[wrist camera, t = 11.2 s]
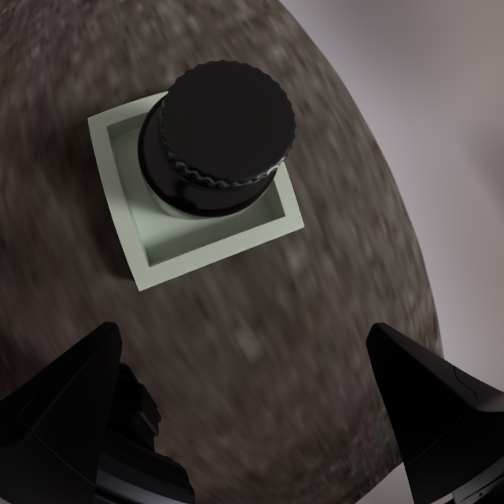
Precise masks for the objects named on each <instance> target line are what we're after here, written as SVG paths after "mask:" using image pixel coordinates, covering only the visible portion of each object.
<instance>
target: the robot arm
mask: <svg viewBox="0 0 504 504" xmlns="http://www.w3.org/2000/svg"><path fill="white" fill-rule="evenodd" d="M366 347H367V350H368V354H369V357H370V361H371V365H372V369H373V373H374V376H375V379H376V382H377V385H378V388H379V390H380V393H381V396H382V399H383V402H384V404H385V407H386V410H387V413H388V416H389V419H390V422H391V425H392V428H393V431H394V434H395V437H396V440H397V443H398V446H399V450H400V453H401V456H402V460H403V463H404V466H405V470H406V474H407V477H408V481H409V485H410V489H411V492H412V497H413V500H414V504H431V503H433V502H435V501H437V500H439V499H441V498H442V497H444V496H446V495H448V494H449V493H451V494H452V496H453V498H452V499H451V500H449V501H448V502H446V503H445V504H504V392H502V391H500V390H497V389H495V388H493V387H492V386H489V385H488V384H486V383H484V382H482V381H480V380H478V379H476V378H474V377H472V376H470V375H469V374H467V373H466V372H464V371H462V370H460V369H459V368H457V367H455V366H453V365H452V364H451V363H449V362H448V361H446V360H444V359H443V358H441V357H439V356H438V355H436V354H435V353H433V352H431V351H430V350H428V349H426V348H425V347H423V346H422V345H420V344H418V343H417V342H415V341H413V340H412V339H410V338H408V337H407V336H405V335H404V334H402V333H400V332H399V331H397V330H395V329H394V328H392V327H390V326H389V325H387V324H386V323H383V322H381V323H374V324H373V325H372V327H371V330H370V332H369V334H368V337H367V339H366ZM121 350H122V339H121V335H120V332H119V328H118V325H117V323H115V322H104V323H103V324H101V325H100V326H99V327H97V328H96V329H95V330H93V331H92V332H91V333H89V334H88V335H87V336H85V337H84V338H83V339H81V340H80V341H79V342H78V343H76V344H75V345H74V346H72V347H71V348H70V349H68V350H67V351H66V352H65V353H63V354H62V355H61V356H59V357H58V358H57V359H56V360H54V361H53V362H52V363H51V364H49V365H48V366H47V367H45V368H44V369H43V370H42V371H40V372H39V373H38V375H35V376H34V377H33V378H32V379H30V380H29V381H28V382H27V383H25V384H24V385H23V386H21V387H20V388H19V389H17V390H16V391H14V392H13V393H11V394H10V395H9V396H7V397H6V398H4V399H3V400H1V401H0V504H195V493H194V490H193V488H192V486H191V485H190V483H189V478H188V476H187V473H186V471H185V469H184V468H183V467H182V466H181V465H180V464H179V463H177V462H174V460H173V459H172V458H170V457H167V456H162V455H160V454H158V453H156V452H155V449H154V437H155V436H158V433H159V430H158V423H159V422H160V421H161V416H160V414H159V413H158V411H157V405H156V403H155V402H154V400H153V399H152V397H151V396H150V394H149V393H148V391H147V389H146V388H145V386H144V385H143V384H141V383H140V384H139V382H138V380H137V379H136V377H135V375H134V374H133V372H132V370H131V369H130V367H129V366H127V365H120V366H119V362H120V356H121ZM123 369H125V370H127V372H123V371H122V370H123Z"/></svg>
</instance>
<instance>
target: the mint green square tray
mask: <svg viewBox="0 0 504 504" xmlns="http://www.w3.org/2000/svg"><path fill="white" fill-rule="evenodd" d="M167 93H168V91H167V92H163V93H159V94H156V95H152V96H149V97H145V98H142V99H139V100H136V101H133V102H130V103H127V104H124V105H121V106H118V107H115V108H112V109H110V110H107V111H104V112H102V113H99V114H97V115H94V116H92V117H89V118H87V119H88V124H89V129H90V134H91V139H92V144H93V149H94V153H95V157H96V162H97V166H98V170H99V174H100V177H101V181H102V185H103V188H104V192H105V196H106V199H107V202H108V206H109V209H110V212H111V215H112V219H113V222H114V225H115V228H116V231H117V234H118V237H119V239H120V242H121V245H122V248H123V251H124V253H125V256H126V259H127V261H128V264H129V267H130V269H131V272H132V274H133V277H134V279H135V282H136V284H137V287H138V289H139V291H142V290H144V289H147V288H149V287H152V286H154V285H157V284H159V283H162V282H165V281H167V280H170V279H172V278H175V277H177V276H180V275H182V274H185V273H187V272H190V271H193V270H195V269H198V268H200V267H203V266H205V265H208V264H210V263H213V262H216V261H218V260H221V259H223V258H226V257H228V256H231V255H234V254H236V253H239V252H241V251H244V250H246V249H249V248H252V247H254V246H257V245H259V244H262V243H264V242H267V241H270V240H272V239H275V238H277V237H280V236H283V235H285V234H288V233H290V232H293V231H296V230H298V229H301V228H303V227H304V224H303V220H302V217H301V214H300V210H299V207H298V204H297V201H296V197H295V194H294V191H293V188H292V185H291V182H290V179H289V176H288V173H287V170H286V167H285V164H284V161H283V162H281V163H280V166H279V168H278V170H277V173H276V175H275V177H274V180H273V182H272V183H271V185H270V187H269V188H268V189H267V191H266V192H265V193H264V194H263V195H262V196H261V197H260V198H259V199H258V200H257V201H256V202H255V203H253V204H252V205H251V206H249V207H248V208H246V209H244V210H242V211H240V212H238V213H235V214H232V215H229V216H225V217H221V218H214V219H202V220H184V219H179V218H176V217H173V216H171V215H169V214H167V213H166V212H164V211H163V210H161V209H160V208H159V207H158V206H157V205H156V204H155V202H154V201H153V200H152V198H151V196H150V194H149V192H148V190H147V188H146V185H145V182H144V180H143V177H142V174H141V171H140V168H139V163H138V156H137V142H138V136H139V132H140V128H141V126H142V123H143V121H144V119H145V117H146V115H147V114H148V112H149V111H150V109H151V108H152V107H153V106H154V105H155V103H156V102H157V101H158V100H160V99H161V98H162V97H163V96H164V95H166V94H167Z"/></svg>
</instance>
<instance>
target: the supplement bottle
mask: <svg viewBox="0 0 504 504" xmlns="http://www.w3.org/2000/svg"><path fill="white" fill-rule="evenodd" d="M294 118H295V113H294V111H293V110H292V104H291V102H290V101H289V100H288V98H287V94H286V92H285V91H284V90H282V89H281V87H280V85H279V83H277V82H276V81H274V80H273V79H272V78H271V76H270V75H268V74H265V73H263V72H262V71H261V70H260V69H259V68H254V67H252V66H250V65H249V64H245V63H239V62H237V61H226V60H220V61H217V62H216V61H210V62H208V63H206V64H199V65H197V66H196V67H195V68H194V69H190V70H187V71H186V72H185V74H184V75H183V76H180V77H178V78H177V79H176V82H175V84H173V85H172V86H171V87H170V88H169V89H168V93H167V94H166V95H164V96H163V97H162V98H161V99H160V100H158V101H157V102H156V103H155V105H154V106H153V107H152V108H151V109H150V111H149V112H148V114H147V115H146V117H145V119H144V121H143V123H142V126H141V128H140V132H139V136H138V142H137V156H138V163H139V168H140V171H141V174H142V177H143V180H144V182H145V185H146V188H147V190H148V192H149V194H150V196H151V198H152V200H153V201H154V202H155V204H156V205H157V206H158V207H159V208H160V209H161V210H163V211H164V212H166V213H167V214H169V215H171V216H173V217H176V218H179V219H184V220H202V219H214V218H221V217H225V216H229V215H232V214H235V213H238V212H240V211H242V210H244V209H246V208H248V207H249V206H251V205H252V204H253V203H255V202H256V201H257V200H258V199H259V198H260V197H261V196H262V195H263V194H264V193H265V192H266V191H267V189H268V188H269V187H270V185H271V183H272V182H273V180H274V177H275V175H276V173H277V170H278V168H279V166H280V163H281V162H283V161H284V160H286V159H287V155H288V152H289V151H290V150H291V149H292V142H293V140H294V139H295V132H294V131H295V128H296V123H295V121H294Z"/></svg>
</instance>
